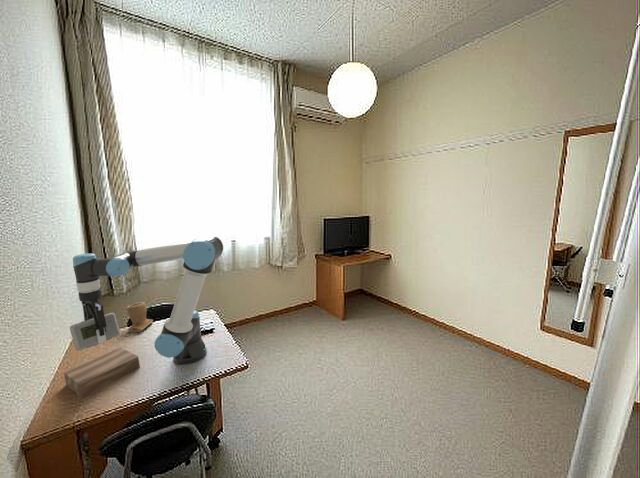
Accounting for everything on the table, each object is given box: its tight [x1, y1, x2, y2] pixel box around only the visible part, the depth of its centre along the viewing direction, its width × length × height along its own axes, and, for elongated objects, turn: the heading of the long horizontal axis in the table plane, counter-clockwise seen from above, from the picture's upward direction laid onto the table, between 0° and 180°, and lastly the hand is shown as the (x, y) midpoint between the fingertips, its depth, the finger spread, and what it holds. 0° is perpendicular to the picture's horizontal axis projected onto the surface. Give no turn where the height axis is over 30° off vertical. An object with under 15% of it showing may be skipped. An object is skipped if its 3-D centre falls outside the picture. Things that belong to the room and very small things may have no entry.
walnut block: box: [63, 347, 141, 399], centre depth 125 cm, size 16×22×6 cm
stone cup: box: [126, 301, 154, 333], centre depth 170 cm, size 15×12×15 cm
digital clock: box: [69, 312, 121, 352], centre depth 122 cm, size 16×9×11 cm, turn 134°
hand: (98, 339), depth 123 cm, fingers closed on digital clock, 7 cm apart
